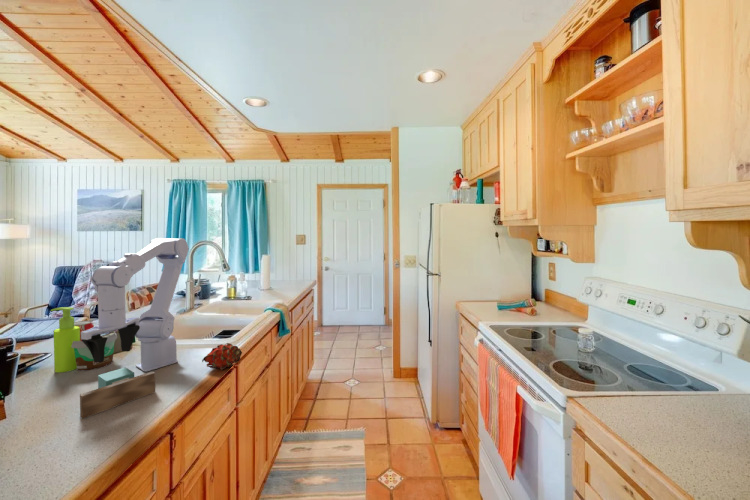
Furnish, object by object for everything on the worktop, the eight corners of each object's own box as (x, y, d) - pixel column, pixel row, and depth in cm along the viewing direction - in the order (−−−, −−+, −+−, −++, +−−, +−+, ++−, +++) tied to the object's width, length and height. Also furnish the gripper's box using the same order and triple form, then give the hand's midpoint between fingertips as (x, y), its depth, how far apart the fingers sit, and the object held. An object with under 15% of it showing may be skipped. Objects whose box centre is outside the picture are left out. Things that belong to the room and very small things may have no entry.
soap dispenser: (63, 364, 99) (61, 305, 98) (85, 364, 100) (84, 305, 99) (45, 372, 93) (43, 309, 93) (69, 372, 94) (67, 309, 93)
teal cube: (125, 387, 86) (125, 367, 85) (134, 394, 82) (134, 372, 82) (98, 396, 81) (98, 375, 80) (106, 404, 77) (106, 381, 77)
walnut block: (152, 390, 84) (152, 371, 84) (155, 392, 83) (155, 372, 83) (80, 416, 72) (79, 394, 71) (82, 418, 71) (81, 396, 71)
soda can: (97, 354, 108) (97, 322, 108) (70, 361, 102) (69, 326, 102) (91, 350, 112) (90, 318, 111) (64, 356, 106) (64, 323, 105)
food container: (86, 374, 93) (86, 343, 92) (71, 372, 94) (70, 341, 93) (127, 359, 105) (126, 331, 104) (113, 357, 106) (112, 329, 106)
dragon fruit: (245, 369, 102) (205, 380, 97) (242, 348, 108) (204, 358, 103) (242, 355, 97) (200, 367, 92) (239, 334, 103) (199, 344, 98)
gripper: (124, 302, 91) (125, 345, 92) (70, 314, 77) (71, 366, 77) (144, 303, 90) (145, 347, 91) (93, 316, 76) (95, 368, 77)
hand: (113, 356), depth 84 cm, fingers open, 7 cm apart
